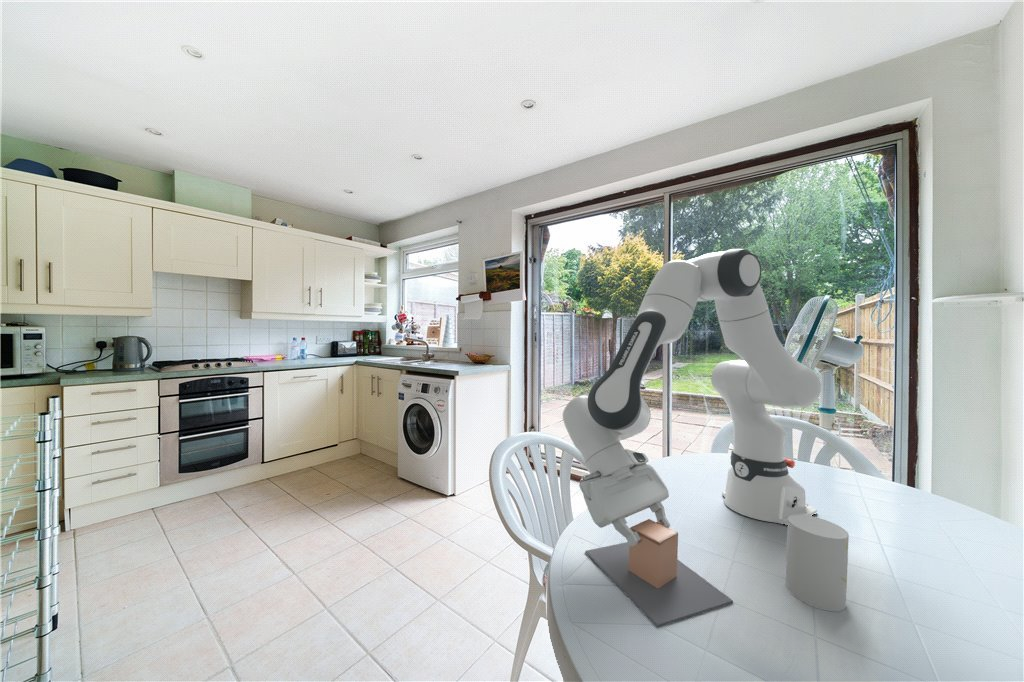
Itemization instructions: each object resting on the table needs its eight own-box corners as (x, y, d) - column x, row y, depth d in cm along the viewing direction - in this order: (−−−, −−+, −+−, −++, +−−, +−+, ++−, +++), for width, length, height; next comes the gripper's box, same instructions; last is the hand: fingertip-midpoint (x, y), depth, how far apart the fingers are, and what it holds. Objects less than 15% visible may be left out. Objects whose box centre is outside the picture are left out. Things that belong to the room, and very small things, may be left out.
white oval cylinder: (858, 615, 59) (861, 541, 59) (801, 606, 60) (804, 534, 60) (826, 582, 67) (828, 517, 67) (776, 575, 68) (778, 512, 68)
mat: (648, 539, 79) (649, 517, 79) (733, 603, 61) (734, 573, 61) (585, 552, 74) (586, 528, 74) (657, 627, 55) (658, 595, 55)
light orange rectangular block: (647, 559, 71) (649, 519, 71) (676, 576, 67) (678, 532, 66) (628, 570, 68) (630, 527, 68) (657, 588, 63) (659, 542, 63)
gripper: (584, 469, 67) (627, 548, 59) (649, 452, 79) (692, 515, 71) (567, 485, 71) (605, 561, 63) (631, 466, 83) (670, 527, 75)
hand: (652, 536), depth 67 cm, fingers open, 8 cm apart
